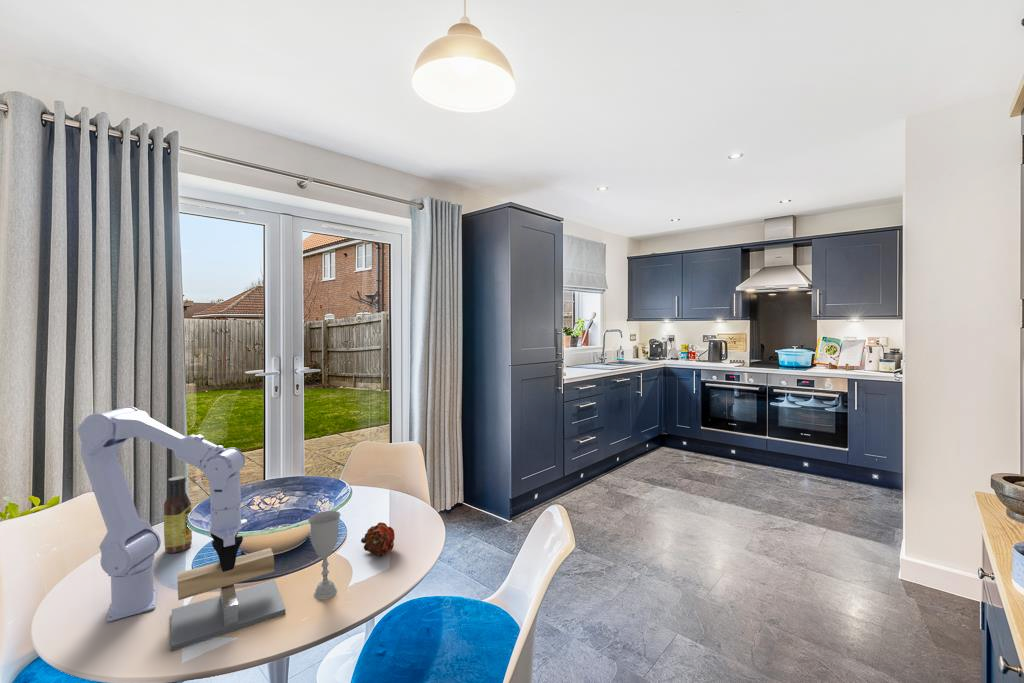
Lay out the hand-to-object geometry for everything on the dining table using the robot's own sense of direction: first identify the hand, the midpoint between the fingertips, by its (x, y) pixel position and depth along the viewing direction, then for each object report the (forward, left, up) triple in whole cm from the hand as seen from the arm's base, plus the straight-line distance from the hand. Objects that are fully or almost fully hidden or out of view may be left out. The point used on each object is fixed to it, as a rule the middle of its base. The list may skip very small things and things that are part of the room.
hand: (227, 565), depth 102 cm
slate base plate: (+4, 0, -9) cm, 10 cm away
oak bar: (0, 0, -4) cm, 4 cm away
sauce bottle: (-38, -9, -9) cm, 40 cm away
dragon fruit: (-4, +36, -9) cm, 37 cm away
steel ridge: (+4, 0, -9) cm, 10 cm away
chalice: (+8, +19, -9) cm, 22 cm away
